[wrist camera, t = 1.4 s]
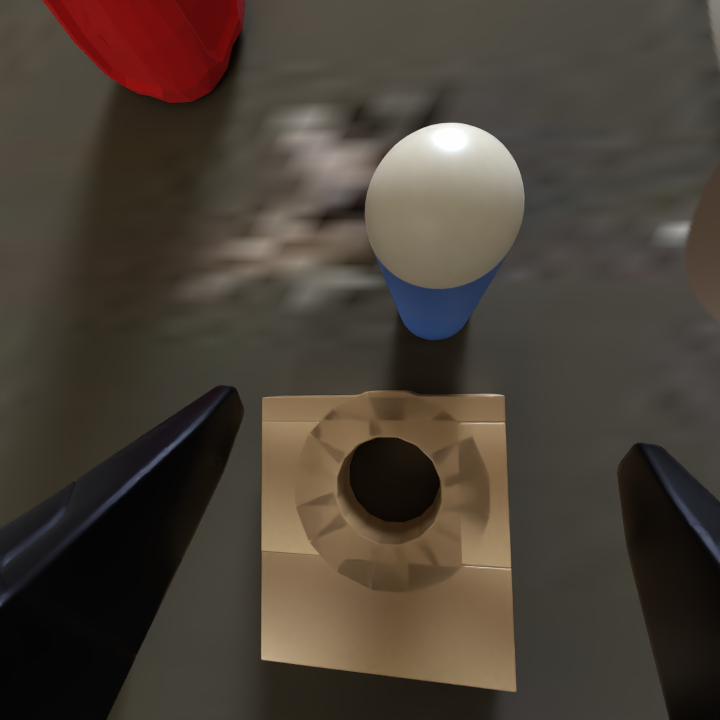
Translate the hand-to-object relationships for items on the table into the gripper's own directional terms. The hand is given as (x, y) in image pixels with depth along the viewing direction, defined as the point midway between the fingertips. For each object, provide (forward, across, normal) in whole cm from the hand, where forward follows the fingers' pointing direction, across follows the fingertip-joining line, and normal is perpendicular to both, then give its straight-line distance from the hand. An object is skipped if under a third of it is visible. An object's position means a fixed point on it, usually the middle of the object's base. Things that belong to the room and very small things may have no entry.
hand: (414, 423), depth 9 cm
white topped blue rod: (+13, 0, +5) cm, 14 cm away
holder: (+4, +1, +13) cm, 14 cm away
